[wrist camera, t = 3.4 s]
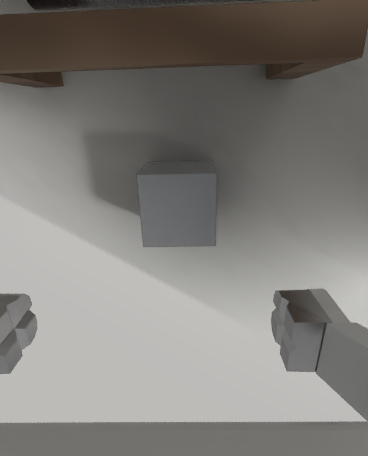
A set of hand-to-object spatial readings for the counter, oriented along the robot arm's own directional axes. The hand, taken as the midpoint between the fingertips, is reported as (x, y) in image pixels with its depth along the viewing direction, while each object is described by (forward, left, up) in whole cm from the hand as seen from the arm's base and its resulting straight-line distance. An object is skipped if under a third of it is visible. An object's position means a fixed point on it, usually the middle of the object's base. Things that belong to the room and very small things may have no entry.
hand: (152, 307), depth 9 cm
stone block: (0, 0, -15) cm, 15 cm away
